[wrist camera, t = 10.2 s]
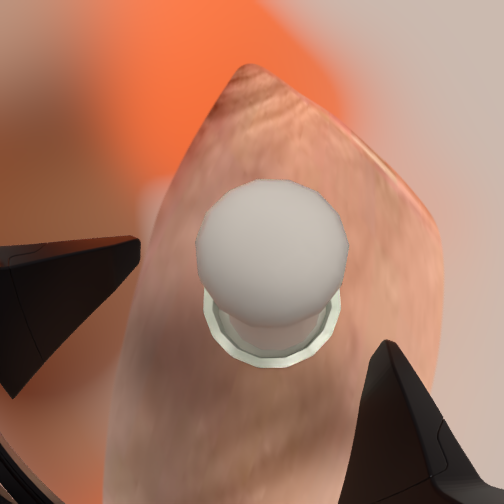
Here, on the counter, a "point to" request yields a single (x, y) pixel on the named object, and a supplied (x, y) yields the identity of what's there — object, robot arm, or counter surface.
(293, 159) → the counter surface
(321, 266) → the salt shaker
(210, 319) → the pale green shallow dish
